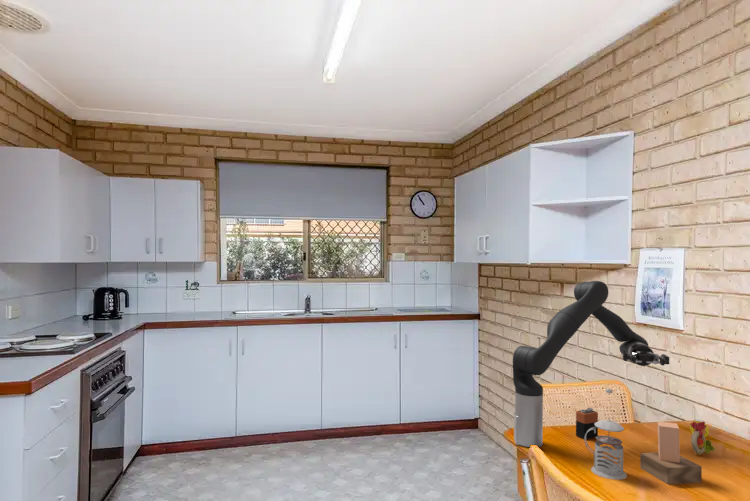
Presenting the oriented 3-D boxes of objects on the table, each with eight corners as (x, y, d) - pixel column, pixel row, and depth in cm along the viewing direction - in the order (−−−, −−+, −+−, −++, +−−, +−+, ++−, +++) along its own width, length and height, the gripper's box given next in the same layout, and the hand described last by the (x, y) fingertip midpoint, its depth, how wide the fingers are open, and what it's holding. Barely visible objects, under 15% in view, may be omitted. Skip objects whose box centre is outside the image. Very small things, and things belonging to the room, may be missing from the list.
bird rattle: (709, 464, 156) (717, 448, 161) (704, 436, 154) (712, 420, 159) (687, 458, 161) (696, 442, 166) (682, 430, 158) (691, 415, 164)
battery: (598, 437, 173) (598, 409, 174) (585, 440, 171) (585, 411, 171) (588, 433, 177) (588, 406, 178) (575, 436, 174) (575, 408, 175)
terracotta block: (660, 460, 142) (659, 426, 142) (658, 454, 146) (657, 421, 147) (679, 463, 140) (678, 428, 140) (677, 457, 144) (676, 423, 145)
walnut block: (667, 485, 136) (667, 467, 136) (640, 469, 147) (640, 453, 147) (701, 483, 138) (701, 466, 138) (672, 468, 148) (672, 451, 149)
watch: (689, 435, 179) (688, 418, 180) (693, 434, 180) (692, 418, 181) (706, 439, 174) (704, 422, 174) (710, 438, 175) (709, 421, 175)
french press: (625, 482, 136) (626, 394, 137) (582, 472, 143) (582, 388, 144) (628, 470, 145) (628, 387, 146) (587, 461, 151) (587, 382, 152)
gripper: (619, 342, 181) (625, 348, 166) (662, 345, 176) (672, 352, 161) (619, 362, 181) (625, 370, 165) (662, 365, 176) (672, 374, 160)
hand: (648, 361), depth 163 cm, fingers open, 8 cm apart
